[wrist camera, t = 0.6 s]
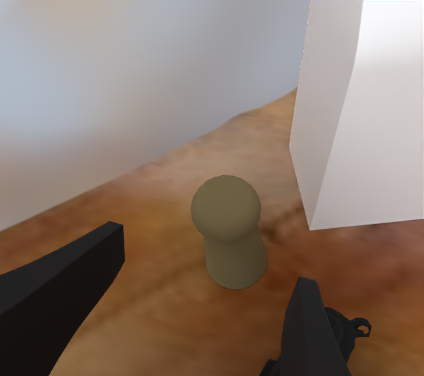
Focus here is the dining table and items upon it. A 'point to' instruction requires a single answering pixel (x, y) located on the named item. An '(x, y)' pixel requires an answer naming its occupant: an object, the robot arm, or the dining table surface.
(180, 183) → the dining table surface
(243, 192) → the cork
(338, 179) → the milk
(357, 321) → the film camera
